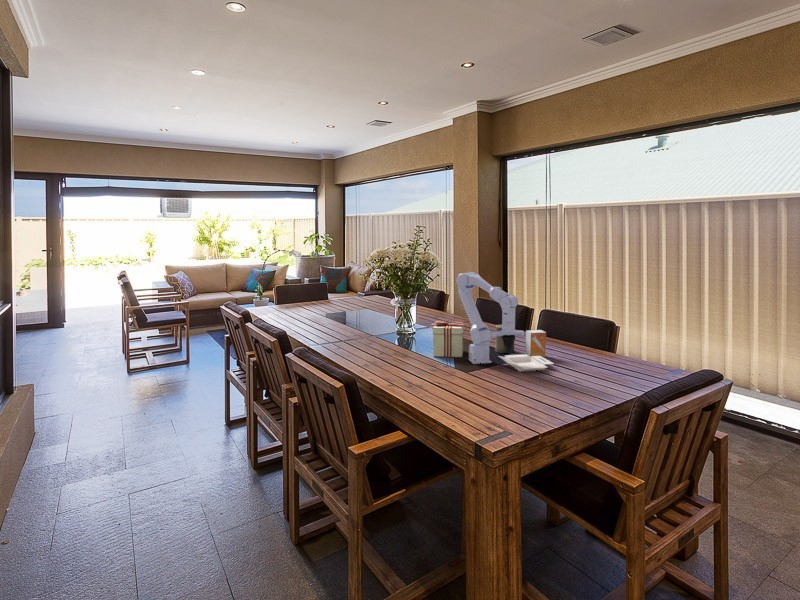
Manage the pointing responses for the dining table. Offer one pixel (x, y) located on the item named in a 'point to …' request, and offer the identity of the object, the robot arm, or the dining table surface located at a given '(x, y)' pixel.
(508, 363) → the flap
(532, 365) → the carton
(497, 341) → the pillar candle
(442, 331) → the gift box
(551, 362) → the flap
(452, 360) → the dining table surface
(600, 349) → the dining table surface
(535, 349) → the small box
